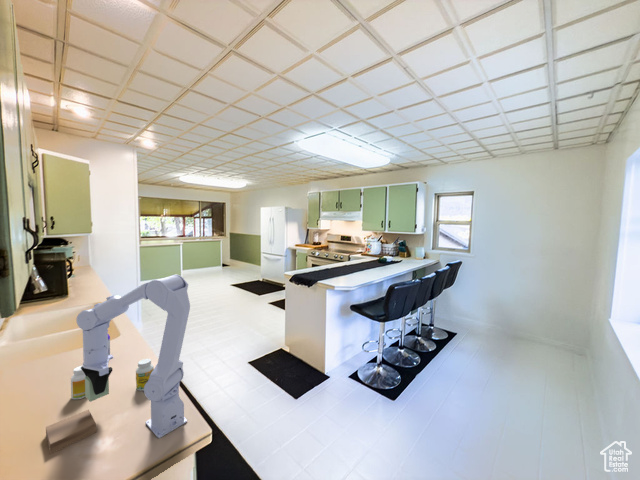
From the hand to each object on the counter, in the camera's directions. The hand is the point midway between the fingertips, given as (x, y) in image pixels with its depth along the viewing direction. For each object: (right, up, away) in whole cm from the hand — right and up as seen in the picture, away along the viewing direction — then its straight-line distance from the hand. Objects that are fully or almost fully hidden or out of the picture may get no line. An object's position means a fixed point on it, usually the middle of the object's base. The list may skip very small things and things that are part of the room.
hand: (97, 389), depth 78 cm
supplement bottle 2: (+4, -8, +15) cm, 18 cm away
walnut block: (-2, -9, -6) cm, 11 cm away
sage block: (0, -2, 0) cm, 2 cm away
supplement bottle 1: (-14, -8, +10) cm, 19 cm away
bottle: (-27, -7, +32) cm, 42 cm away
